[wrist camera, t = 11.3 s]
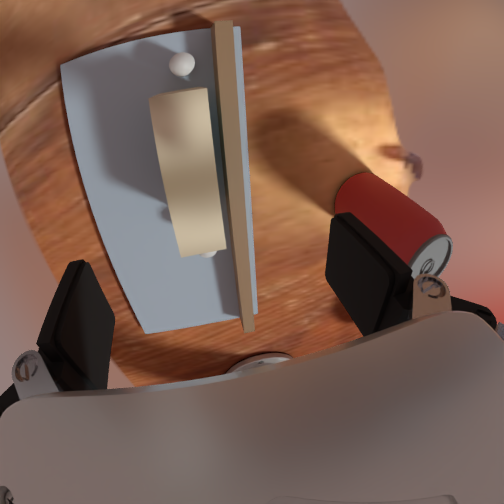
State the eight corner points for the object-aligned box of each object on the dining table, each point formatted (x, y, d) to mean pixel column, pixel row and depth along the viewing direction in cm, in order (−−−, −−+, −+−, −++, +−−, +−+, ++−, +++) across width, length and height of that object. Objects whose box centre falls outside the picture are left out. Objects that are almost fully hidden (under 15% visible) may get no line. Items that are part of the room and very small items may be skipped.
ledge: (255, 307, 34) (265, 335, 30) (145, 327, 32) (145, 357, 28) (237, 28, 16) (251, 17, 12) (65, 65, 14) (40, 64, 10)
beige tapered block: (214, 202, 23) (227, 248, 18) (178, 209, 23) (180, 257, 17) (199, 86, 17) (208, 87, 12) (158, 93, 17) (147, 98, 11)
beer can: (328, 228, 29) (391, 305, 20) (334, 171, 25) (415, 236, 16) (376, 220, 30) (441, 285, 21) (385, 169, 27) (466, 225, 17)
